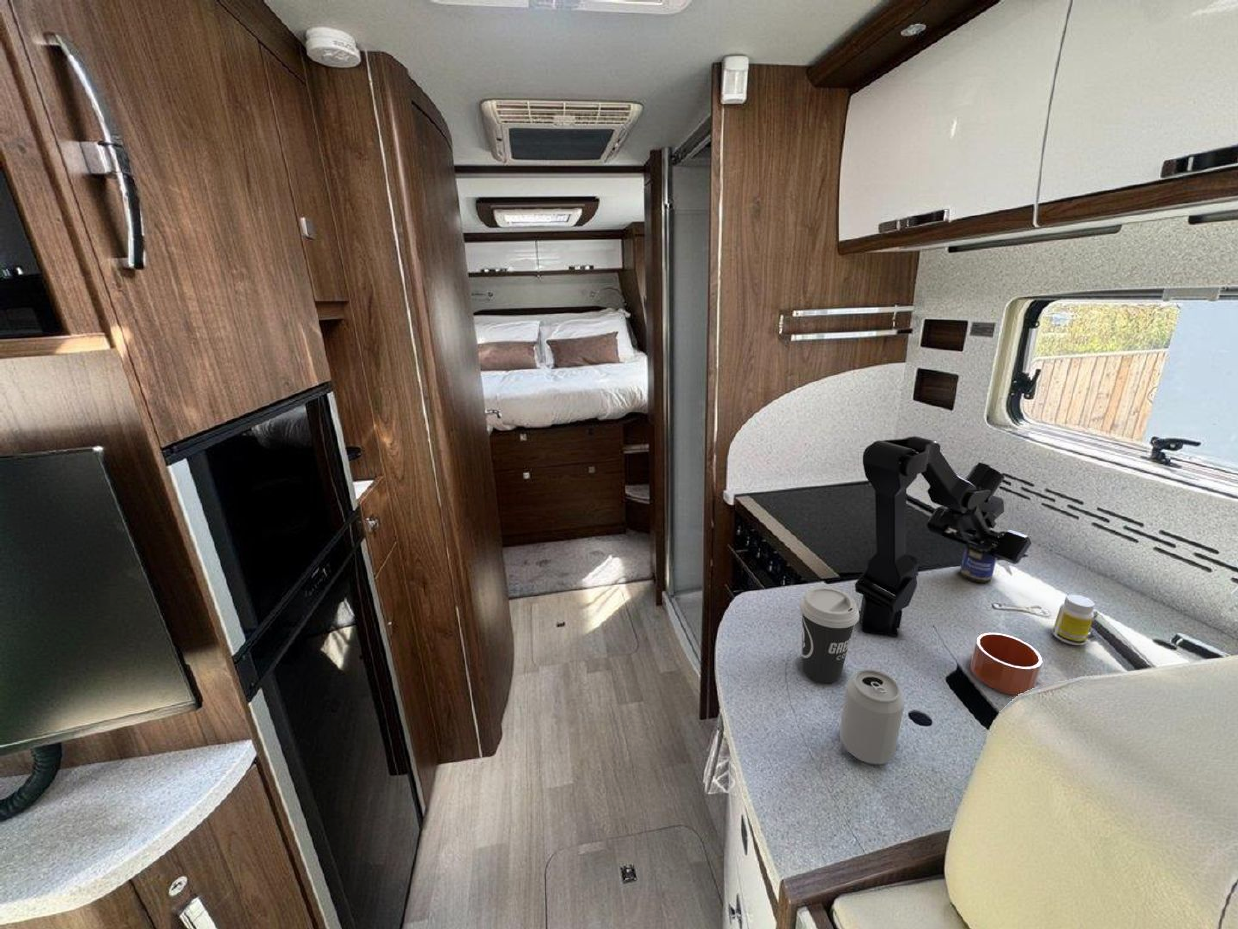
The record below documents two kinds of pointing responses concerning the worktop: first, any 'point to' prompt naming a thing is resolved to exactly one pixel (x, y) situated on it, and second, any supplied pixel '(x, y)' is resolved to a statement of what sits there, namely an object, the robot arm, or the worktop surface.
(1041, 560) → the worktop surface
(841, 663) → the coffee cup
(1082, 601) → the supplement bottle
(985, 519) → the robot arm
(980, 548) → the pill bottle
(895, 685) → the can
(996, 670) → the ceramic bowl
